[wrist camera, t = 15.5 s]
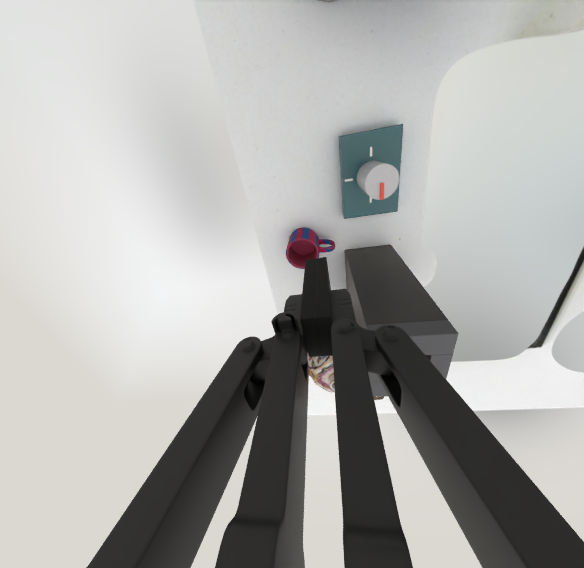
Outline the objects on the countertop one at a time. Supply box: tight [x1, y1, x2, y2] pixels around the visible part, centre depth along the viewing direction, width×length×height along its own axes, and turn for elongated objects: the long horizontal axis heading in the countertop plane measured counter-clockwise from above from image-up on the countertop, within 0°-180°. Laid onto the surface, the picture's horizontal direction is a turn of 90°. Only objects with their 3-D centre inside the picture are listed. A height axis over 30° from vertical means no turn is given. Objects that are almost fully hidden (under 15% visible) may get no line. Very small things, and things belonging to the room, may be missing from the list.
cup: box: [286, 228, 335, 269], centre depth 49 cm, size 7×10×7 cm
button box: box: [345, 245, 458, 396], centre depth 42 cm, size 12×10×28 cm
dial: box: [357, 161, 399, 200], centre depth 37 cm, size 5×5×8 cm
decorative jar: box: [307, 355, 335, 392], centre depth 57 cm, size 12×12×18 cm
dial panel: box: [339, 124, 403, 219], centre depth 42 cm, size 14×10×3 cm
